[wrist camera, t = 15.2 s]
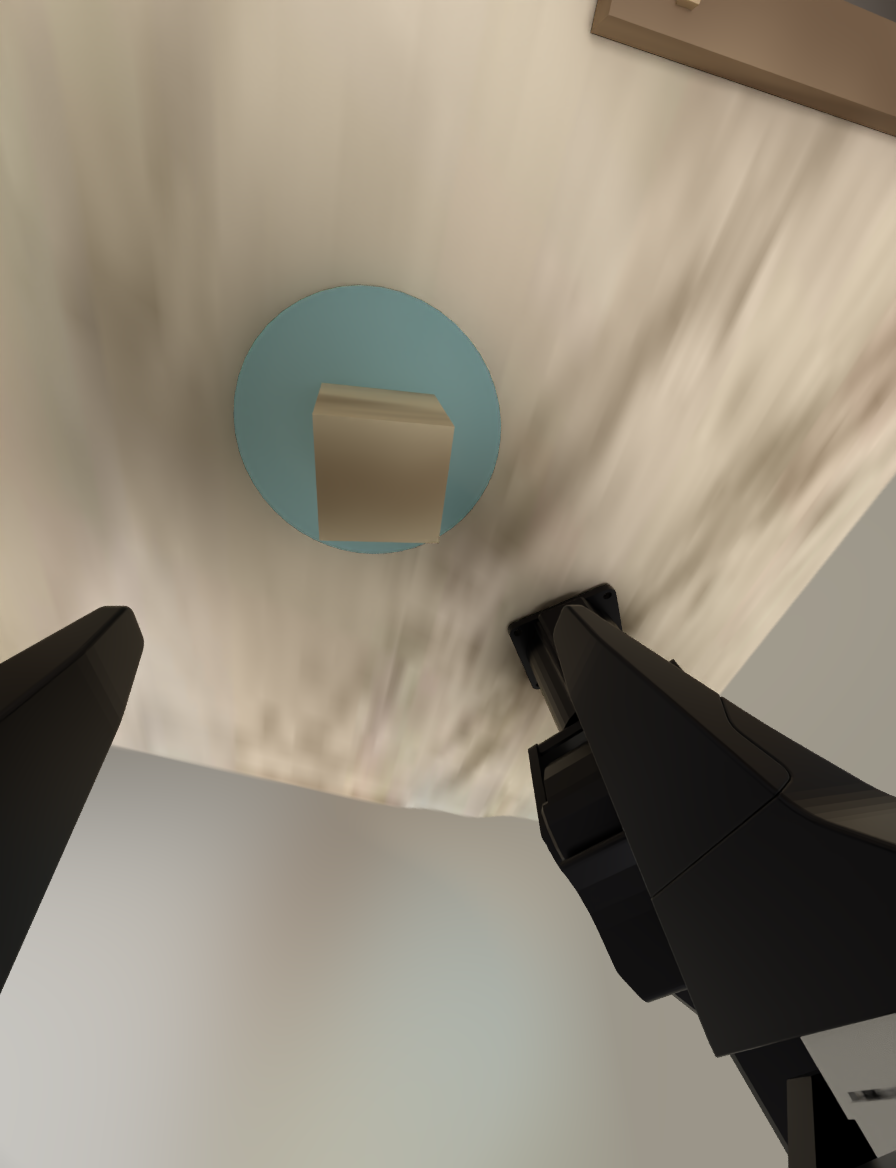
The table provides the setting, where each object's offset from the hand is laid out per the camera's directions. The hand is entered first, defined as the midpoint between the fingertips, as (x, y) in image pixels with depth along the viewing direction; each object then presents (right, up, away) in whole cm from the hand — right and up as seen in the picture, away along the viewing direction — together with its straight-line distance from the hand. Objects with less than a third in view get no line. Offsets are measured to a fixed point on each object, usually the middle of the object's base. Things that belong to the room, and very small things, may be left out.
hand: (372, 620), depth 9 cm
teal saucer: (-1, +7, +8) cm, 10 cm away
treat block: (-1, +6, +7) cm, 9 cm away
